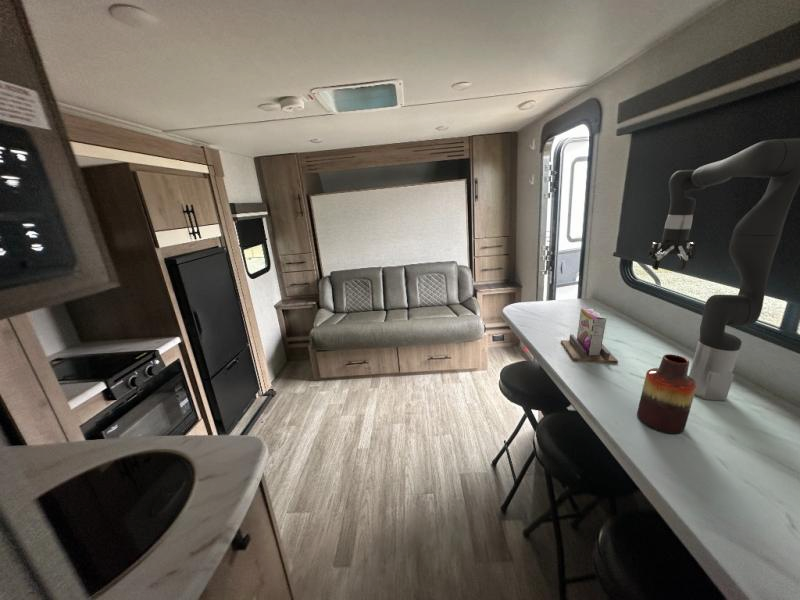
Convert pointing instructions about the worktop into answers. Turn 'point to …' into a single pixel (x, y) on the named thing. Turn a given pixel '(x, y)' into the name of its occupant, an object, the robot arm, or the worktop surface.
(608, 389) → the worktop surface
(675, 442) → the worktop surface
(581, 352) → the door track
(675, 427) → the vase
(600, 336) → the candy bar box
